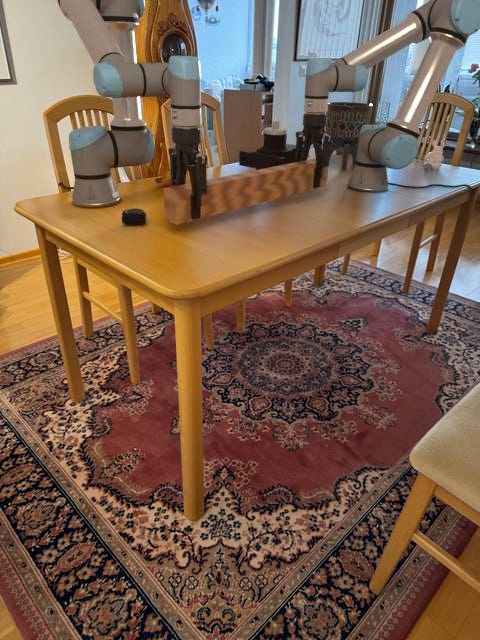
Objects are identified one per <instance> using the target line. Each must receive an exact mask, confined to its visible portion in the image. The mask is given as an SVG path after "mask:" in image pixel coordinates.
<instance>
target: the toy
mask: <svg viewBox="0 0 480 640" xmlns="http://www.w3.org/2000/svg"><path fill="white" fill-rule="evenodd" d="M188 177H189V171H187V172H186V179H185V184H187V178H188ZM175 181H176V180H175ZM154 182H155V183H157V184H161V185H163V186H166V187H173V186H172V185H171V175H170V170H167V171H166V172H164V174H163V175H161V176H160V177H156V178H154Z"/></svg>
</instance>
